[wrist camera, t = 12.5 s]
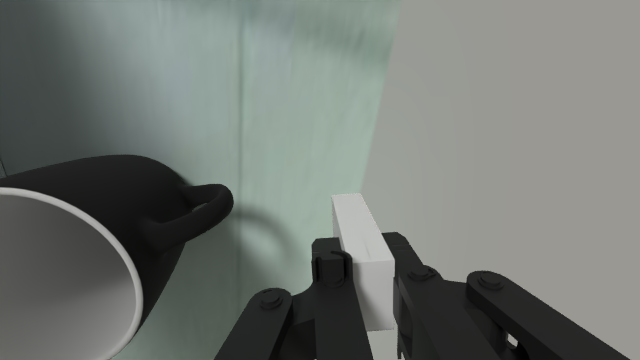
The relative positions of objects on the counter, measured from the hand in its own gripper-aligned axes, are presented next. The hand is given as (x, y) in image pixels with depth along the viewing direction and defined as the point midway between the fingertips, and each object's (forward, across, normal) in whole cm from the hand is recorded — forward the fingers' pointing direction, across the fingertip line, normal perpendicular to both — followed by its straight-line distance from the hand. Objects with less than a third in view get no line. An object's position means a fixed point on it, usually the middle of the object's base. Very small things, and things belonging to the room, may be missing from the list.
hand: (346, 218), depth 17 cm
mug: (+7, -12, 0) cm, 14 cm away
